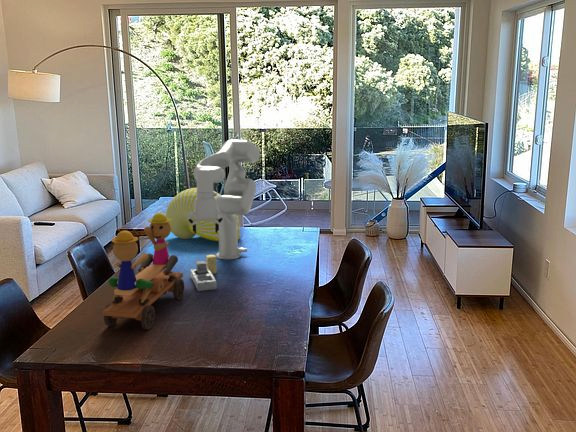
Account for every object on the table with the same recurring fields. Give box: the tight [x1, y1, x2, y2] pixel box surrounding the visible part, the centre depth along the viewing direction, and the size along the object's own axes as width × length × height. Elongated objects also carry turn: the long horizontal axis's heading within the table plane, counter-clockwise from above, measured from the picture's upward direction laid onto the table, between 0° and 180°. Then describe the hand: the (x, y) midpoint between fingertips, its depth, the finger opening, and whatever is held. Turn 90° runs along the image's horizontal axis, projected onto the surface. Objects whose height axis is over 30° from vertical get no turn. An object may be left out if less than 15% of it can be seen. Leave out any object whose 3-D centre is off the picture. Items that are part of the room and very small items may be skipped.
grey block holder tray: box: [190, 268, 218, 292], centre depth 252 cm, size 8×19×4 cm, turn 18°
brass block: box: [205, 254, 218, 275], centre depth 265 cm, size 4×4×8 cm
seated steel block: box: [195, 260, 207, 275], centre depth 256 cm, size 4×4×8 cm
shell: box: [165, 187, 241, 243], centre depth 322 cm, size 44×31×30 cm
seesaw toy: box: [102, 212, 185, 330], centre depth 217 cm, size 45×16×36 cm, turn 169°
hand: (205, 232), depth 263 cm, fingers open, 9 cm apart
